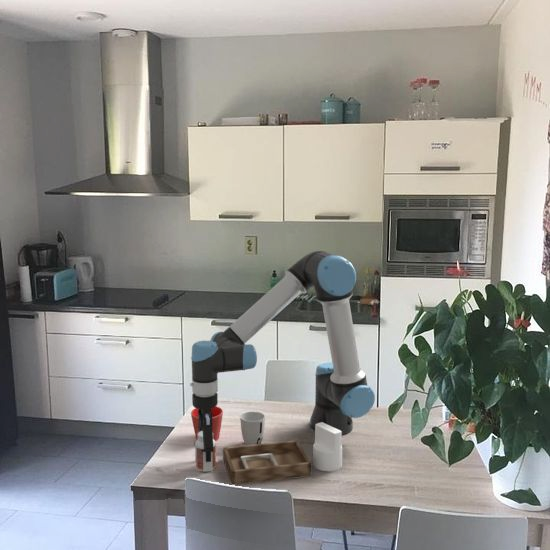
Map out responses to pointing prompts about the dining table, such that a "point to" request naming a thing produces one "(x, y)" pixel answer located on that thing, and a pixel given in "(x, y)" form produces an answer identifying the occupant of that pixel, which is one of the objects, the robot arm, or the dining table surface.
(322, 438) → the cylinder with rectangular tab
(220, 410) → the flower pot
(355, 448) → the dining table surface
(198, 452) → the pill bottle
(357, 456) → the dining table surface
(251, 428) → the cup
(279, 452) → the box
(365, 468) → the dining table surface
